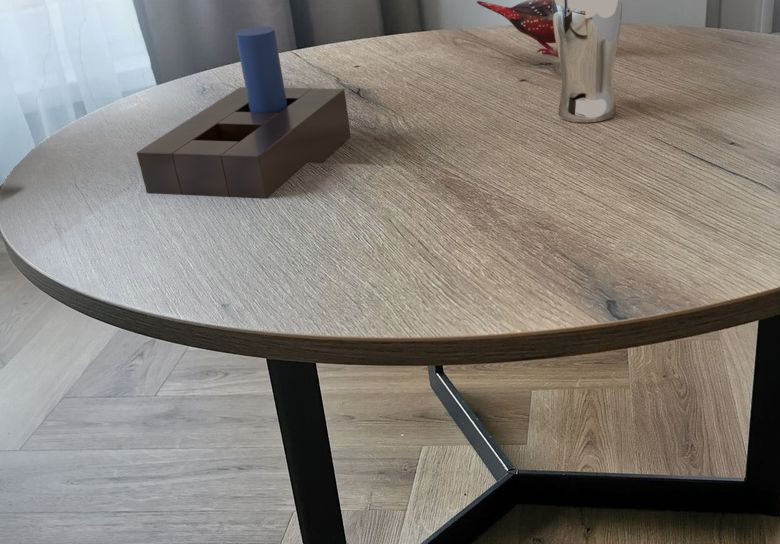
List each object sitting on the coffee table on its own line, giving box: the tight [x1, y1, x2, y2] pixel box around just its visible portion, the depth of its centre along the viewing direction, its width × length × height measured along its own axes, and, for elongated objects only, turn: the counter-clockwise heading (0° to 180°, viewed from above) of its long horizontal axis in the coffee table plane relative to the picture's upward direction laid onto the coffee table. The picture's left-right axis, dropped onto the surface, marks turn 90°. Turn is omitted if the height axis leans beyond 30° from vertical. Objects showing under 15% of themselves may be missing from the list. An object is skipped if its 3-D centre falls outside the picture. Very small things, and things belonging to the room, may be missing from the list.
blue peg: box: [235, 26, 287, 113], centre depth 93 cm, size 4×4×12 cm
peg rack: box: [136, 86, 352, 200], centre depth 91 cm, size 12×20×5 cm, turn 167°
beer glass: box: [552, 0, 623, 124], centre depth 98 cm, size 7×7×15 cm
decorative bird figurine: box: [476, 0, 559, 57], centre depth 121 cm, size 3×18×10 cm, turn 63°
